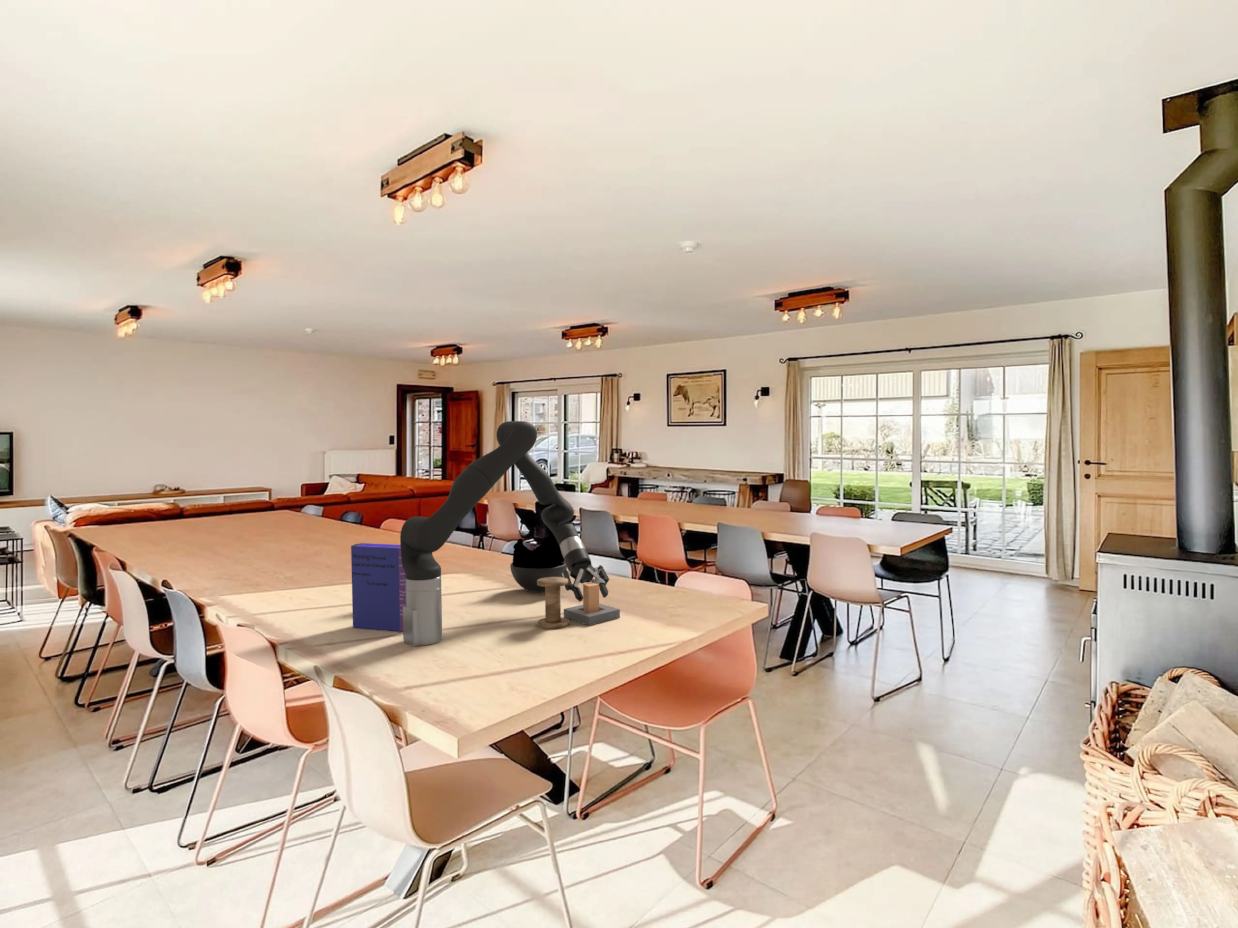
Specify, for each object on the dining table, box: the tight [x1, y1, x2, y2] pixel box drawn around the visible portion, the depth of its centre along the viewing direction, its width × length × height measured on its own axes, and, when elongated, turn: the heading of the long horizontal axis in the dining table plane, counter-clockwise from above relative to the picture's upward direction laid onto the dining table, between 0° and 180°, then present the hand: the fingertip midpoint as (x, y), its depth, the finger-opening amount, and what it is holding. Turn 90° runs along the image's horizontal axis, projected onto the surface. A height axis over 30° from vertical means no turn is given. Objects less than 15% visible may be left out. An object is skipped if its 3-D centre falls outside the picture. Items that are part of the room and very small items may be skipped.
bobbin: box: [537, 577, 570, 630], centre depth 188 cm, size 9×9×13 cm
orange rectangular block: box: [582, 582, 600, 613], centre depth 195 cm, size 4×4×10 cm
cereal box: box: [350, 542, 406, 633], centre depth 185 cm, size 17×5×24 cm, turn 74°
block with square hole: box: [563, 603, 621, 626], centre depth 195 cm, size 12×12×2 cm
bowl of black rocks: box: [509, 537, 568, 593], centre depth 228 cm, size 20×20×19 cm
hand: (593, 597), depth 194 cm, fingers open, 8 cm apart
